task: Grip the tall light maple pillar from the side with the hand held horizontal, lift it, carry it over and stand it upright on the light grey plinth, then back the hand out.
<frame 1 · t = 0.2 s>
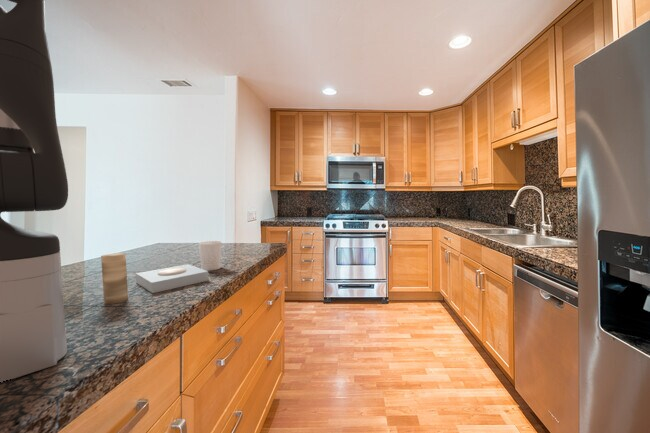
hand: (16, 192, 72), 29 cm above the worktop, tool pointing down, fingers open, 8 cm apart
light grey plinth: (172, 281, 88), on the worktop
white cup: (211, 269, 105), on the worktop
maple pillar: (116, 300, 71), on the worktop
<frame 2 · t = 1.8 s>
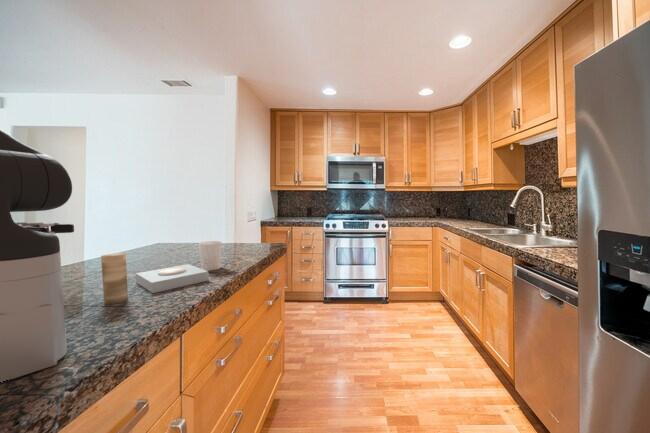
hand: (61, 230, 67), 19 cm above the worktop, tool horizontal, fingers open, 8 cm apart
nothing on the worktop moved.
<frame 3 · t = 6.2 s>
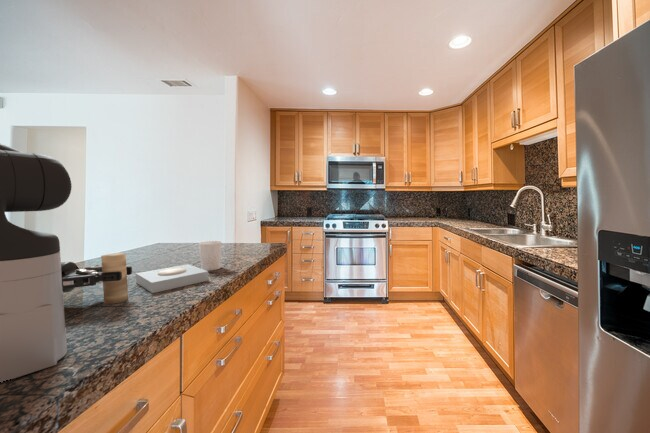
hand: (126, 273, 72), 7 cm above the worktop, tool horizontal, fingers closed on maple pillar, 5 cm apart
maple pillar: (116, 300, 71), on the worktop, touching gripper
everything else where it was.
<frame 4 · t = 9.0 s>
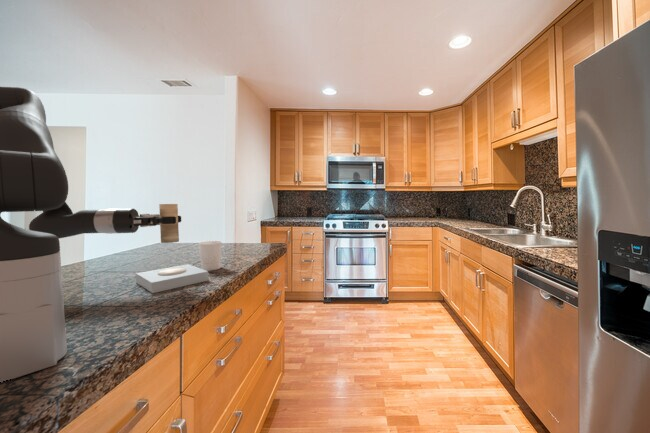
hand: (178, 219, 87), 20 cm above the worktop, tool horizontal, fingers closed on maple pillar, 5 cm apart
maple pillar: (170, 241, 87), point 13 cm above the worktop, touching gripper
everything else where it was.
when the fingers open (11 cm above the worktop, at t = 11.8 s): maple pillar moves 1 cm, resting on light grey plinth.
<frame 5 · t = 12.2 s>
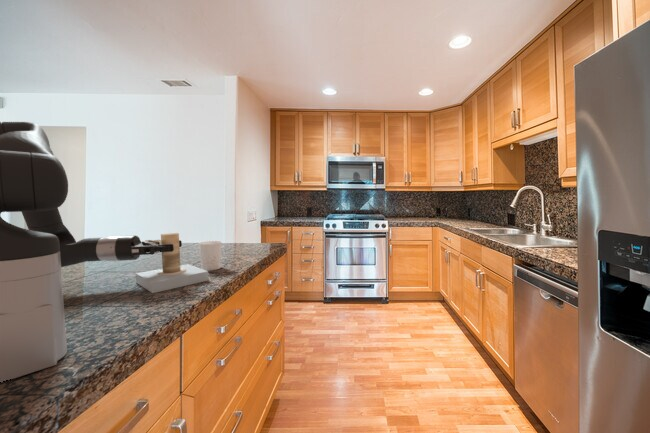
hand: (177, 245, 88), 12 cm above the worktop, tool horizontal, fingers open, 8 cm apart
maple pillar: (171, 271, 88), point 3 cm above the worktop, touching light grey plinth
everything else where it was.
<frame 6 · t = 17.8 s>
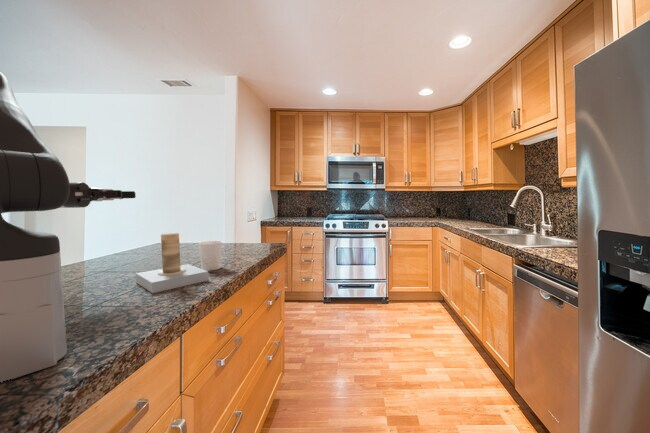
hand: (128, 194, 84), 28 cm above the worktop, tool horizontal, fingers open, 8 cm apart
nothing on the worktop moved.
at the end: maple pillar inside the target area on the light grey plinth (0.1 cm from its centre), point 3.3 cm above the light grey plinth's base; maple pillar tilted 0°; the gripper is holding nothing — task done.
